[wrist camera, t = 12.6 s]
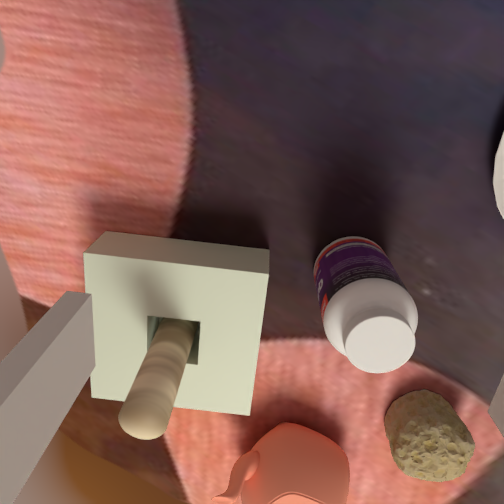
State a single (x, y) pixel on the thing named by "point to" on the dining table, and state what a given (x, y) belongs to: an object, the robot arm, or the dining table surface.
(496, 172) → the plate
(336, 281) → the pill bottle
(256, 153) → the dining table surface
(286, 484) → the teapot
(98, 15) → the dining table surface
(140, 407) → the dowel
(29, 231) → the dining table surface
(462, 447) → the decorative object
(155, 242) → the bore block
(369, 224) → the dining table surface
